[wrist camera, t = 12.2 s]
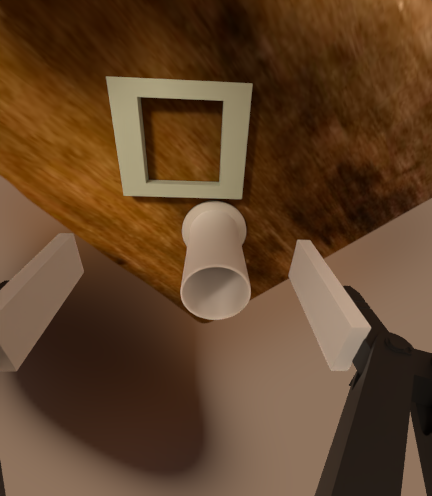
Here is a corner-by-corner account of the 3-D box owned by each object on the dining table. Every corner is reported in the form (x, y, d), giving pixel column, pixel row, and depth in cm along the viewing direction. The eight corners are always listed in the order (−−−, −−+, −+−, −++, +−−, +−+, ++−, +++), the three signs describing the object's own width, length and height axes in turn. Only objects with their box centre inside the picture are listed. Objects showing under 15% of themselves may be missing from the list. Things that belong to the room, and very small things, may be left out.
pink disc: (183, 256, 46) (182, 259, 45) (181, 199, 41) (181, 200, 40) (242, 258, 47) (243, 260, 46) (248, 201, 41) (249, 203, 40)
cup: (245, 242, 44) (261, 306, 30) (203, 259, 46) (200, 328, 32) (226, 201, 40) (234, 254, 26) (181, 222, 42) (166, 281, 28)
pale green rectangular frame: (127, 191, 40) (123, 195, 38) (111, 77, 32) (105, 76, 31) (240, 195, 40) (241, 199, 39) (250, 84, 33) (252, 83, 31)
